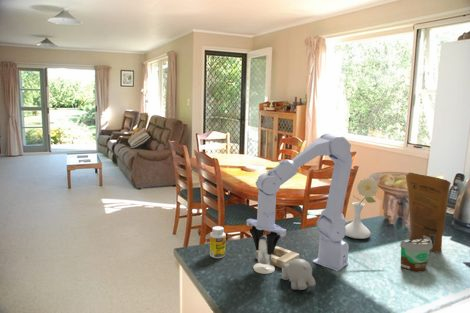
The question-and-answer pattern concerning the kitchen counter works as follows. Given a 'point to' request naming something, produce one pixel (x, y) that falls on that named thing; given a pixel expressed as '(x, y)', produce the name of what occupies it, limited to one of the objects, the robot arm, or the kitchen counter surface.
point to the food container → (415, 254)
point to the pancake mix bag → (427, 207)
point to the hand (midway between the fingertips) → (264, 251)
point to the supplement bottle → (217, 242)
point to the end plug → (263, 251)
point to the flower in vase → (356, 227)
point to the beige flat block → (282, 256)
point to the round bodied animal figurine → (298, 274)
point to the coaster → (264, 268)
